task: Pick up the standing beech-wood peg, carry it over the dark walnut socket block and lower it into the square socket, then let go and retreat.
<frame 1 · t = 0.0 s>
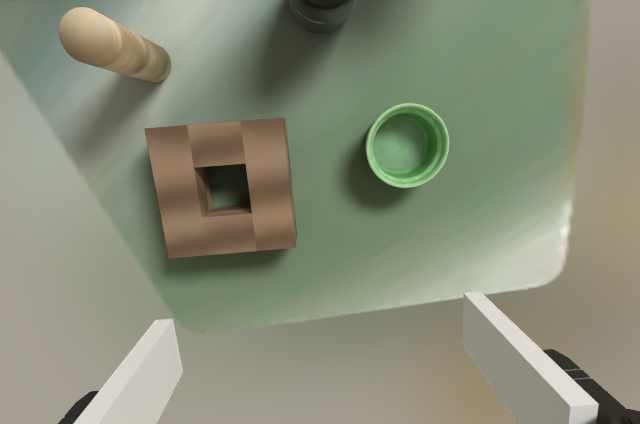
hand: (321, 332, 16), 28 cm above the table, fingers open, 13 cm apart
socket block: (233, 183, 42), on the table
peg: (152, 63, 39), on the table
supplement bottle: (320, 1, 38), on the table
ramekin: (397, 144, 42), on the table
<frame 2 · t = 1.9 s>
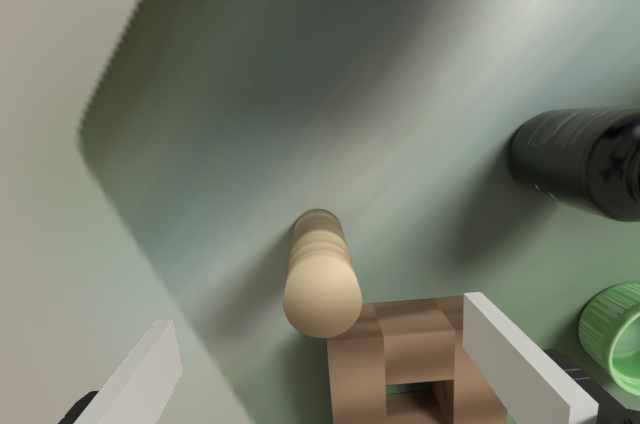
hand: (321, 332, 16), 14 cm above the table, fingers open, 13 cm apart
socket block: (403, 368, 33), on the table
peg: (317, 232, 29), on the table
supplement bottle: (545, 153, 29), on the table
ramekin: (616, 320, 33), on the table
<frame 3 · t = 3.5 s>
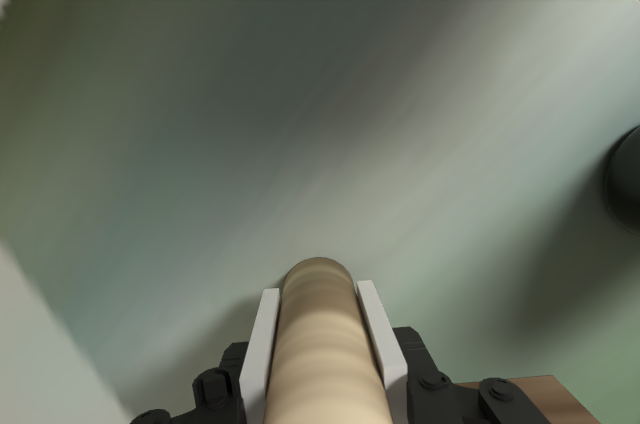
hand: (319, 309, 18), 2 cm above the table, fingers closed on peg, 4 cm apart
peg: (318, 290, 20), on the table, touching gripper
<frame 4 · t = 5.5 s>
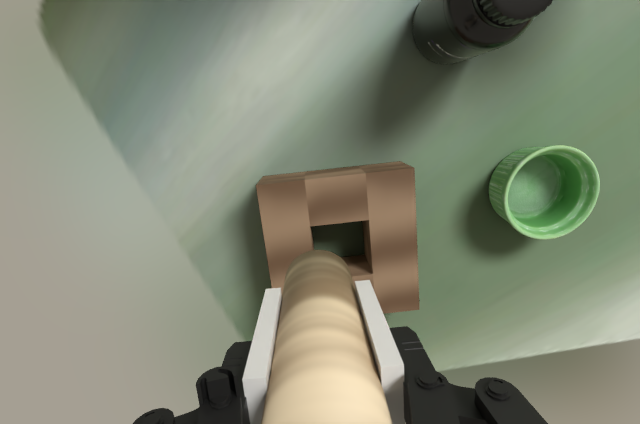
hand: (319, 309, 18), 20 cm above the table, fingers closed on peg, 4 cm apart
socket block: (337, 233, 38), on the table
peg: (318, 281, 21), point 16 cm above the table, touching gripper
supplement bottle: (446, 27, 33), on the table
ramekin: (523, 185, 37), on the table
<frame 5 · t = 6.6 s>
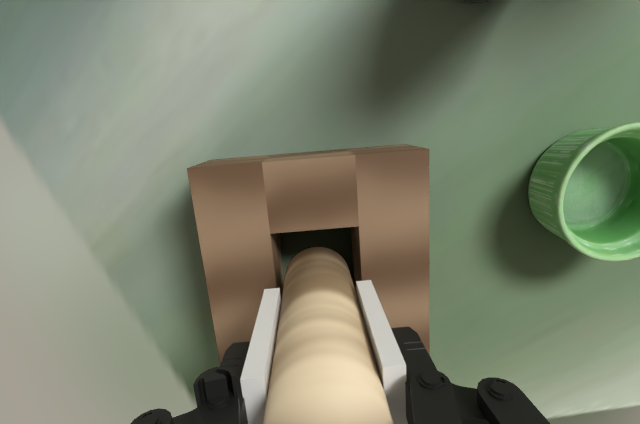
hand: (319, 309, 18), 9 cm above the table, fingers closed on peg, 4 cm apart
socket block: (316, 244, 27), on the table
peg: (317, 277, 22), point 5 cm above the table, touching gripper
ramekin: (575, 183, 27), on the table
when the fingers open (6 cm above the table, at t = 7.4 s): peg drops 2 cm, resting in socket block.
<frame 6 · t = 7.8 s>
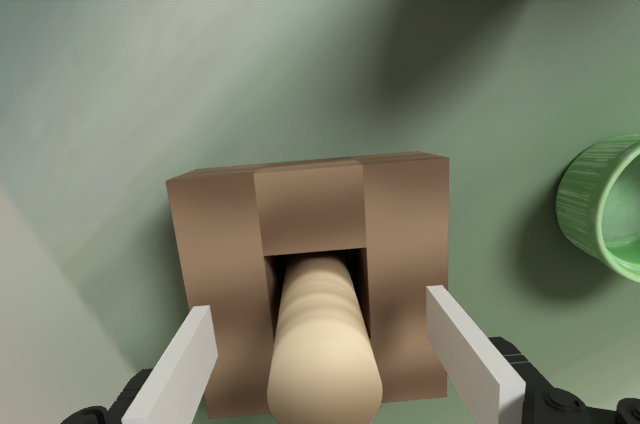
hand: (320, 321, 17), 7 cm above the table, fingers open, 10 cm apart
socket block: (316, 264, 24), on the table
peg: (316, 264, 24), resting in socket block
ramekin: (608, 195, 24), on the table
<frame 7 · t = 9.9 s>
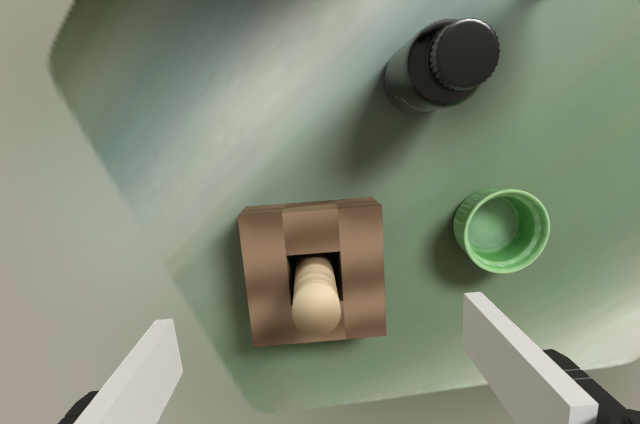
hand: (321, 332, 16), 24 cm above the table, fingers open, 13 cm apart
socket block: (314, 261, 40), on the table
peg: (313, 262, 40), resting in socket block
supplement bottle: (414, 80, 37), on the table
ramekin: (485, 222, 40), on the table
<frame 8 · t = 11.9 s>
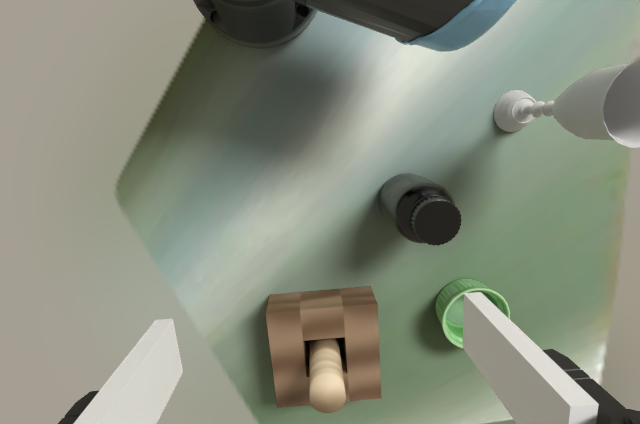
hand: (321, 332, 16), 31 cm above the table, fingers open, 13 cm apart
socket block: (323, 335, 50), on the table
chalice: (512, 111, 44), on the table
peg: (323, 335, 50), resting in socket block
supplement bottle: (403, 198, 46), on the table
ramekin: (461, 303, 50), on the table
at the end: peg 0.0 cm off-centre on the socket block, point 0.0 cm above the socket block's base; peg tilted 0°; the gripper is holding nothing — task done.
